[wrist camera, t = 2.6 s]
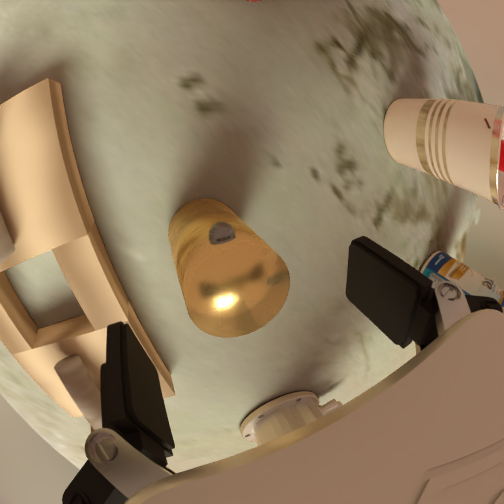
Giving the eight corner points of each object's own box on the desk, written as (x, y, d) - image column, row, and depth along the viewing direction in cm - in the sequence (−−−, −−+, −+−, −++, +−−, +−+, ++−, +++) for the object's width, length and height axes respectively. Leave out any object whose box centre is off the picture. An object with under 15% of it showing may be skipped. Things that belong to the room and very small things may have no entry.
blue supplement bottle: (405, 287, 33) (511, 372, 16) (437, 238, 31) (546, 308, 15) (419, 304, 37) (504, 375, 20) (447, 262, 36) (535, 324, 19)
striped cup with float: (361, 145, 21) (488, 180, 11) (386, 70, 18) (503, 75, 8) (415, 186, 25) (506, 225, 15) (434, 122, 23) (524, 145, 13)
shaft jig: (60, 84, 11) (6, 57, 4) (171, 376, 24) (189, 445, 17) (-56, 161, 8) (-118, 188, 1) (75, 400, 21) (75, 463, 14)
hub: (228, 180, 18) (283, 215, 11) (243, 260, 21) (293, 324, 14) (156, 201, 17) (166, 252, 10) (182, 281, 20) (207, 358, 13)
